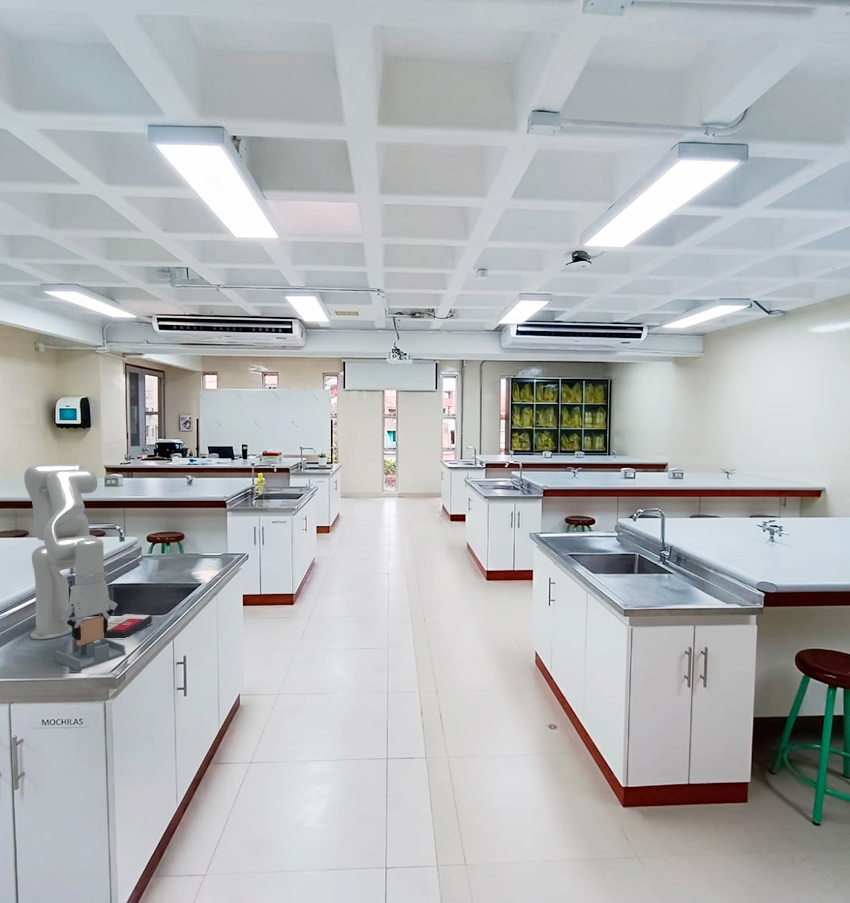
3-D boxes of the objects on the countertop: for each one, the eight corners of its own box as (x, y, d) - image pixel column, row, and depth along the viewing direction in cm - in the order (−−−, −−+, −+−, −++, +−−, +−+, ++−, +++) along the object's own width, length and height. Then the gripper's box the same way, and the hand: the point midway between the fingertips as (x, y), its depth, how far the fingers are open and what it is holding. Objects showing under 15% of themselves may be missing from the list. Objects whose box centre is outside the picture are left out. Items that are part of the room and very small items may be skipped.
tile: (76, 644, 160) (76, 622, 159) (100, 637, 166) (100, 615, 165) (80, 645, 158) (79, 623, 158) (103, 638, 164) (103, 616, 164)
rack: (54, 660, 160) (54, 644, 160) (102, 645, 172) (102, 630, 172) (77, 671, 153) (77, 654, 152) (125, 654, 164) (125, 638, 164)
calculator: (94, 628, 179) (124, 612, 193) (95, 640, 179) (125, 623, 194) (123, 630, 177) (152, 613, 192) (124, 642, 178) (152, 624, 192)
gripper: (112, 571, 171) (112, 625, 171) (52, 583, 156) (53, 642, 156) (124, 574, 167) (125, 629, 167) (64, 587, 152) (65, 647, 153)
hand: (90, 635), depth 162 cm, fingers closed on tile, 7 cm apart
